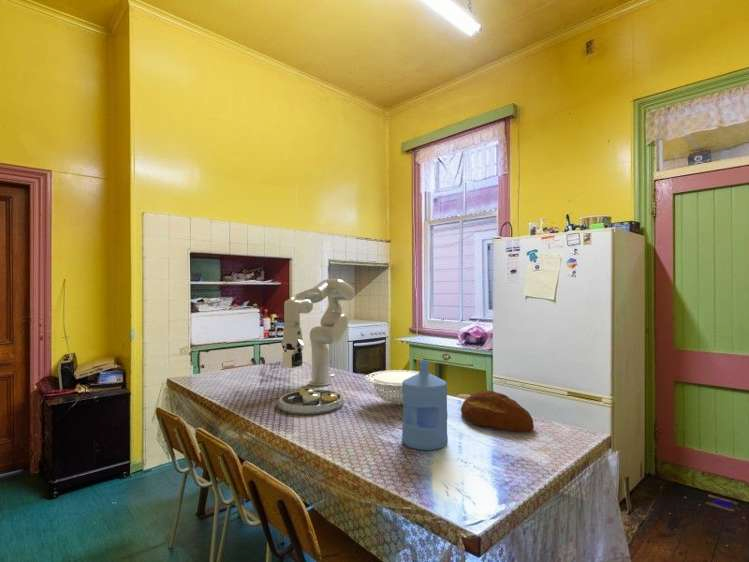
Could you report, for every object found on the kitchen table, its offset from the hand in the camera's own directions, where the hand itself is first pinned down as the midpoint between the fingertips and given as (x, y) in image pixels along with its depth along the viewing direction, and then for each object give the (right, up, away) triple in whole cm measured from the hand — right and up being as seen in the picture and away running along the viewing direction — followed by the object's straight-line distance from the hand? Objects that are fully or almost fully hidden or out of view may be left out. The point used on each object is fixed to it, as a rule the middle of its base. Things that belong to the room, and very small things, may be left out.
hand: (292, 359), depth 209 cm
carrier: (+13, -17, -20) cm, 29 cm away
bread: (+89, -17, -45) cm, 101 cm away
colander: (+53, -17, -20) cm, 59 cm away
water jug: (+59, -17, -65) cm, 89 cm away
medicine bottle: (0, -4, 0) cm, 4 cm away
